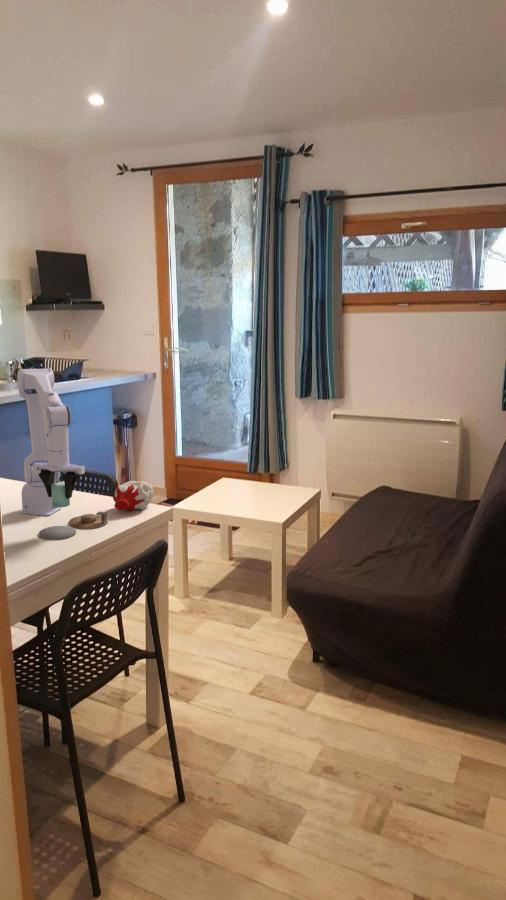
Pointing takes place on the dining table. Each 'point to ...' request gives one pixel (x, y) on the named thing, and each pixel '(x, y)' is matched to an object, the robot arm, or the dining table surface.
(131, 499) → the multicoloured piece
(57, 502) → the kettle
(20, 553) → the dining table surface
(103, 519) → the tan wide-brim hat
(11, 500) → the dining table surface
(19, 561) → the dining table surface
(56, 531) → the coaster
